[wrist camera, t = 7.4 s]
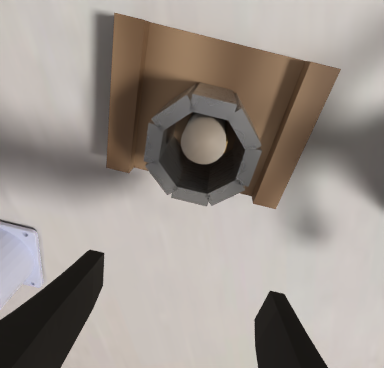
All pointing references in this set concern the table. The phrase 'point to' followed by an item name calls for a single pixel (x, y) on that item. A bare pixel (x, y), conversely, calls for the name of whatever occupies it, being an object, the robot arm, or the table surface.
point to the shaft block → (218, 76)
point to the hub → (193, 172)
